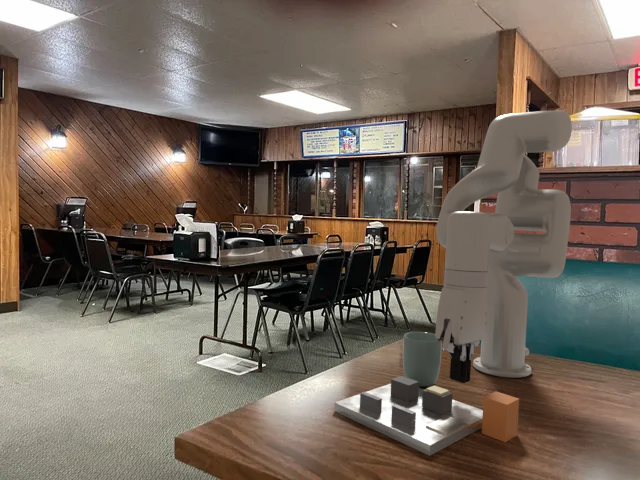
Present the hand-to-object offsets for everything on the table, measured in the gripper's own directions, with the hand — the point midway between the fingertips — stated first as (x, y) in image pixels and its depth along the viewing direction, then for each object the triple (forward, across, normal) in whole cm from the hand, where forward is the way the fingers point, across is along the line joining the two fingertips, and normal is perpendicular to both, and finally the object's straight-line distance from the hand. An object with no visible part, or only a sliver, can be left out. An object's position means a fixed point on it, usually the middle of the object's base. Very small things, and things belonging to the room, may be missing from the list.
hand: (459, 380), depth 87 cm
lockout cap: (+6, +4, +10) cm, 12 cm away
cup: (+5, -6, -12) cm, 14 cm away
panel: (+6, +10, -3) cm, 11 cm away
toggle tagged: (+4, +7, 0) cm, 8 cm away
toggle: (+4, +7, -7) cm, 10 cm away
